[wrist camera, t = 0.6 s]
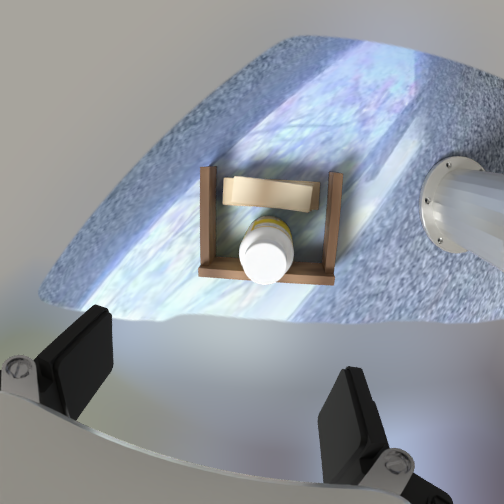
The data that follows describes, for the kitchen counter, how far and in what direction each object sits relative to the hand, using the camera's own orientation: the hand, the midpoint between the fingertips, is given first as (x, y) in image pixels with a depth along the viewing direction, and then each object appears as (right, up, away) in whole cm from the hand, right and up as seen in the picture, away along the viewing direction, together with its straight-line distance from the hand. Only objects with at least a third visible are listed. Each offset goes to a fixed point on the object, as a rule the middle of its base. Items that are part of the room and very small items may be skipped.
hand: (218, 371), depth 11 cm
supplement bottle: (+3, +6, +26) cm, 27 cm away
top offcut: (+3, +11, +22) cm, 25 cm away
